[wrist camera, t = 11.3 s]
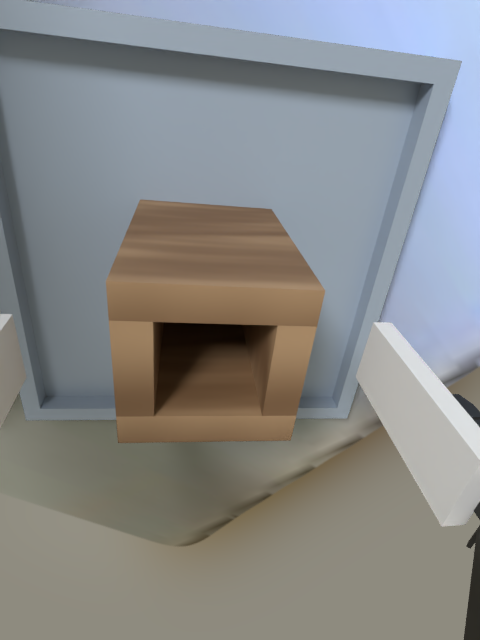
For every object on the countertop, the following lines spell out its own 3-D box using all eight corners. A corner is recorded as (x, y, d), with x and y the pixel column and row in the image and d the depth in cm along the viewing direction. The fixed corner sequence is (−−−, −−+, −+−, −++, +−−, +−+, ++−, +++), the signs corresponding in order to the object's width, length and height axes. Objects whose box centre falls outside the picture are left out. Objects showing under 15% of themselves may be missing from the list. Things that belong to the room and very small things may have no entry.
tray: (36, 399, 27) (26, 420, 26) (-48, -4, 16) (-75, -14, 15) (338, 399, 31) (347, 418, 29) (438, 62, 20) (461, 60, 18)
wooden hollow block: (140, 199, 21) (105, 281, 12) (271, 208, 22) (325, 290, 13) (143, 337, 25) (120, 470, 16) (252, 340, 26) (284, 466, 17)
